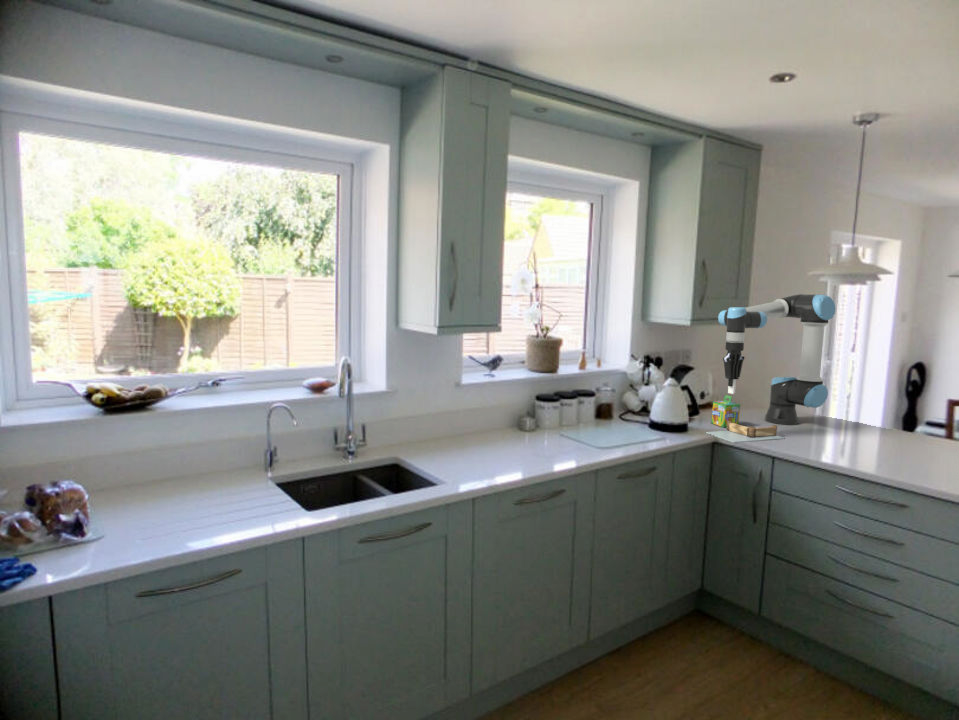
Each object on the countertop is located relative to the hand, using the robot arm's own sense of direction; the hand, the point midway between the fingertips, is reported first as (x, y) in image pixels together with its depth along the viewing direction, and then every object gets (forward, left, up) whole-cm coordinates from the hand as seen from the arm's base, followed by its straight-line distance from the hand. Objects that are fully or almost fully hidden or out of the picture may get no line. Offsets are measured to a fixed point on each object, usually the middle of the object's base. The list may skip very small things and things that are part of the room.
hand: (731, 393), depth 266 cm
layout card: (+3, +6, -20) cm, 21 cm away
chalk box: (-17, +12, -20) cm, 29 cm away
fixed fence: (+7, +13, -19) cm, 24 cm away
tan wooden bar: (-1, +6, -19) cm, 20 cm away
